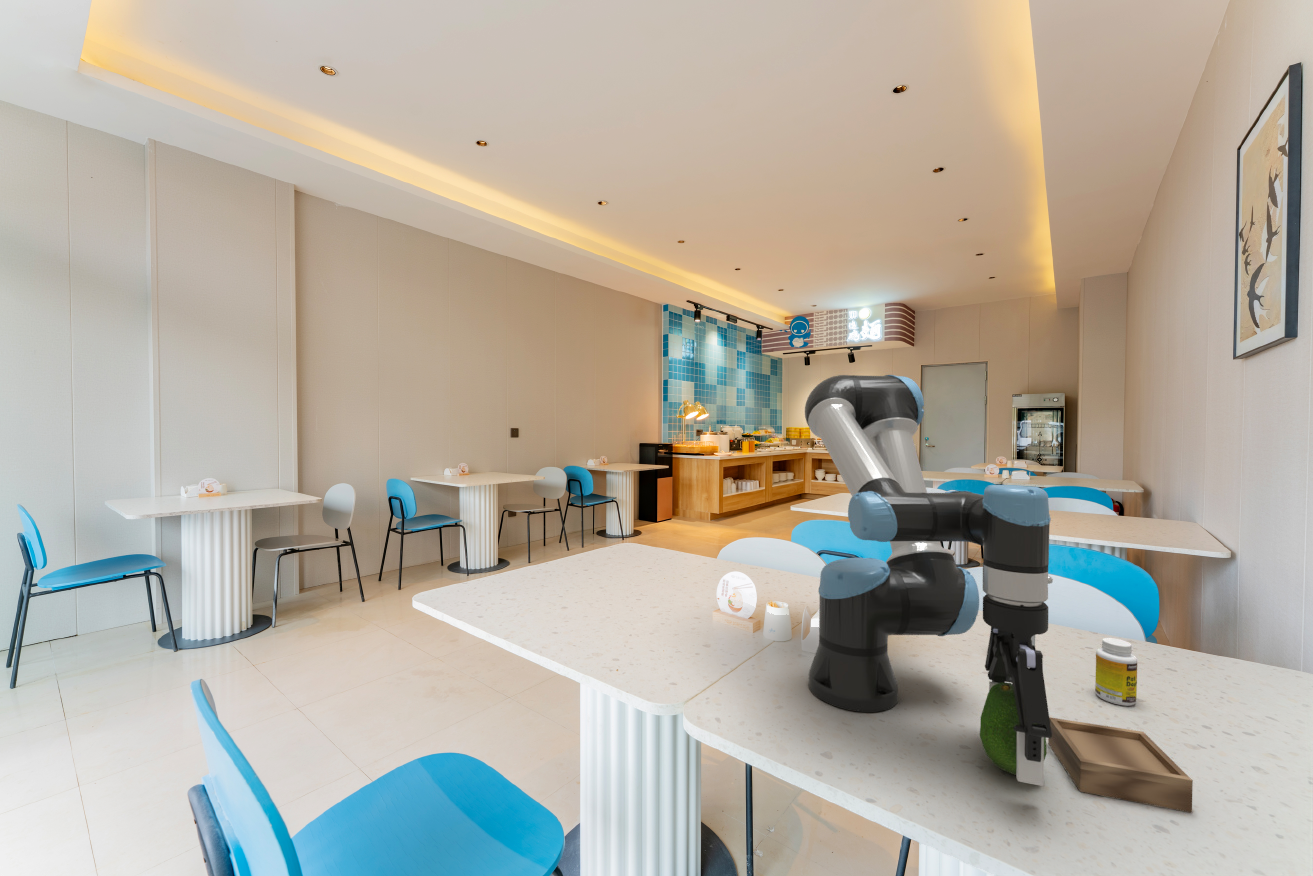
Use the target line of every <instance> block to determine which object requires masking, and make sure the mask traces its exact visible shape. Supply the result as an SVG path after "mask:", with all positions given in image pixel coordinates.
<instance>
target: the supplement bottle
mask: <svg viewBox="0 0 1313 876" xmlns="http://www.w3.org/2000/svg"><path fill="white" fill-rule="evenodd" d="M1095 651H1096V652H1095V680H1094V681H1095V685H1094V686H1095V687H1094V690H1095V694H1096V695H1097V697H1099V699H1102V700H1104V701H1105V702H1108V703H1111V704H1115V705H1119V706H1126V707H1127V706H1128V707H1129V706H1134V705H1135V704H1136V703H1137V689H1138V658H1137V657H1136V656H1135V655H1134V654H1132V652H1133V647H1132V644H1131V643H1130V642H1128V641H1126V640H1123V639H1120V638H1114V637H1104V638H1102V640H1101V647H1100V648H1099V647H1098V648H1097V649H1096V650H1095Z"/></svg>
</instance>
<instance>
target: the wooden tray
mask: <svg viewBox="0 0 1313 876" xmlns="http://www.w3.org/2000/svg"><path fill="white" fill-rule="evenodd" d="M1049 719H1050V726H1051V731H1052V737H1051V738H1047V739H1048V745H1049V747H1050V749H1051V750H1052V751H1053V753H1054V755H1055V756H1056V758H1057V759H1058V761H1059V762H1060V764H1061V765H1062V767H1063V768H1064V769H1065V771H1066V772H1067V774H1068V775H1069V777H1070V778H1071V780H1072V782H1073V783H1074V785H1075V786H1076V787H1077V789H1078V791H1079V792H1081V793H1086V794H1090V795H1096V796H1102V797H1108V798H1113V799H1116V800H1117V799H1118V800H1124V801H1129V802H1134V803H1139V804H1144V805H1150V806H1156V807H1159V808H1165V809H1172V810H1176V811H1183V812H1186V813H1191V812H1192V813H1193V783H1194V782H1193V779H1191V777H1189V775H1188V774H1187V773H1186V772H1185V771H1184V770H1183V769H1182V768H1180V766H1179V765H1178V764H1177V763H1176V762H1175V761H1173V759H1172V758H1171V757H1169V756H1168V755H1167V753H1165V751H1163V749H1161V747H1159V746H1158V745H1157V744H1156V743H1155V742H1154V740H1152V739H1151V738H1150V737H1149V736H1148V735H1147V734H1146V732H1144V731H1142V730H1133V729H1128V728H1122V727H1115V726H1108V725H1102V724H1095V723H1088V722H1081V721H1077V720H1069V719H1063V718H1055V717H1051V716H1049Z"/></svg>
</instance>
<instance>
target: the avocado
mask: <svg viewBox="0 0 1313 876" xmlns="http://www.w3.org/2000/svg"><path fill="white" fill-rule="evenodd" d="M1033 724H1035V723H1033ZM1015 725H1020V723H1019V718H1018V712H1017V707H1016V701H1015V695H1014V690H1013V684H1012V683H1010V682H1005V683H1002V682H1000V683H998V684H996V685H993V686H992V688H991V689H990V691H989V690H988V692H987V695H986V699H985V702H984V704H983V707H982V712H981V716H980V726H979V737H980V741H981V746H982V749H983V750H984V752H985V753H986V756H987V757H988V759H989V760H990V761H991V762H992V763H993V764H994V765H995V766H997V767H998V768H999V769H1000V770H1002V771H1004V772H1007V773H1009V774H1012V775H1016V770H1017V731H1015V730H1014V726H1015ZM1047 754H1048V752H1047V738H1045V737H1044V761H1045V759H1046V757H1047Z"/></svg>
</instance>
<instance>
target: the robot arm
mask: <svg viewBox="0 0 1313 876" xmlns="http://www.w3.org/2000/svg"><path fill="white" fill-rule="evenodd" d="M924 406H925V400H924V396H923V393H922V390H921V389H920V387H919V385H918V384H917V383H916V381H914V380H913V379H911V378H910V377H907V376H904V375H903V376H902V375H901V376H900V375H894V374H886V375H859V374H857V375H849V374H837V375H834V376H830V377H828V378H826V379H824V380H823V381H821V382H819V384H817V385H816V386H815V387H814V388H813V390H812V391H810V393H809V395H808V397H807V399H806V401H805V405H804V418H805V421H806V424H807V426H808V429H809V430H810V431H811V432H812V434H813V435H814V436H816V437H818V438H820V439H821V442H822V443H823V445H824V447H825V449H826V451H827V452H828V454H829V456H830V458H831V460H832V462H833V465H835V467H836V469H837V471H838V473H839V475H840V477H841V479H842V481H843V482H844V485H845V486H846V487H847V489H848V491H849V493H850V495H851V498H850V500H849V503H848V509H847V518H848V521H849V528H850V530H851V532H852V534H853V535H854V536H855V537H856V538H857V539H860V540H862V541H871V542H872V541H875V542H880V543H887V542H889V543H890V547H891V554H890V555H889V557H888V558H887V560H886V561H884V560H882V559H878V558H872V557H865V558H864V557H849V558H848V557H847V558H841V559H837V560H833V561H831V562H829V563H827V564H825V565H824V566H823V568H822V569H821V571H820V580H819V587H818V595H819V608H818V609H819V611H818V612H819V619H818V623H819V624H818V625H819V627H818V633H819V634H818V637H819V638H818V646H817V649H816V651H815V654H814V657H813V660H812V662H811V666H810V667H809V668H810V669H809V671H808V688H809V690H810V692H811V693H812V694H813V695H814V696H815V697H817V699H819V700H821V701H822V702H824V703H827V704H829V705H831V706H834V707H837V708H840V709H844V710H848V711H852V712H853V711H854V712H862V713H875V712H876V713H877V712H884V711H886V710H887V711H888V710H890V709H892V708H893V707H895V706H896V705H897V704H898V700H899V688H898V682H897V679H896V675H895V673H894V670H893V667H892V663H891V660H890V657H889V654H888V650H889V649H888V648H889V646H888V644H889V643H888V641H889V639H888V638H889V636H938V637H944V636H951V635H954V636H955V635H963V634H964V633H967V632H968V631H969V630H970V629H972V628H973V626H974V624H975V623H976V619H977V616H978V614H979V611H980V610H979V608H980V593H979V587H978V585H977V581H976V579H975V577H974V575H972V574H971V572H970V571H969V570H967V569H966V568H964V567H961V566H957V565H956V561H955V557H954V555H953V553H952V552H951V551H948V550H947V549H946V548H944V547H943V546H942V543H941V542H967V543H972V544H975V545H979V546H982V549H983V551H982V552H983V554H982V555H983V556H982V557H983V558H982V559H983V561H982V591H983V592H984V593H985V595H984V596H982V619H983V621H984V623H985V624H987V626H990V634H989V639H988V646H987V653H986V658H985V664H984V668H985V671H987V677H988V680H989V681H988V692H989V691H990V689H991V688H992V686H993V685H996V684H998V683H1000V682H1002V683H1011V684H1013V690H1014V695H1015V701H1016V707H1017V712H1018V718H1019V723H1020V725H1015V726H1014V730H1015V731H1017V770H1016V780H1017V782H1020V783H1025V784H1030V785H1036V786H1039V787H1040V786H1042V787H1044V782H1045V781H1044V777H1045V776H1044V773H1045V769H1044V768H1045V766H1044V765H1045V760H1044V737H1045V738H1046V739H1048V738H1051V737H1052V731H1051V726H1050V719H1049V717H1050V713H1049V705H1048V699H1047V692H1046V684H1045V677H1044V671H1043V670H1044V669H1043V666H1044V665H1043V662H1044V661H1043V658H1044V655H1043V653H1042V650H1037V649H1036V645H1035V646H1034V645H1032V640H1031V637H1032V636H1034V635H1035V636H1036V635H1043V634H1045V633H1047V632H1048V630H1049V606H1048V605H1047V603H1046V601H1048V600H1049V585H1050V584H1052V583H1053V580H1054V579H1053V577H1052V576H1050V575H1049V564H1050V561H1049V560H1050V525H1051V524H1050V523H1051V521H1052V517H1051V515H1050V508H1049V495H1048V493H1047V491H1045V490H1044V488H1041V487H1036V486H1029V485H1027V486H1026V485H1021V484H1020V485H1017V484H990V485H987V486H986V487H985V489H984V492H983V494H979V493H974V492H972V491H968V490H949V491H945V492H928V491H927V486H926V483H925V479H924V476H923V475H924V474H923V471H922V469H921V465H920V461H919V457H918V454H917V449H916V445H915V441H914V439H913V437H914V435H915V434H916V433H917V431H918V429H919V426H920V424H921V423H922V420H923V418H924V416H925V415H924V413H925V410H924V409H923V407H924ZM1033 723H1035V724H1033Z"/></svg>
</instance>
